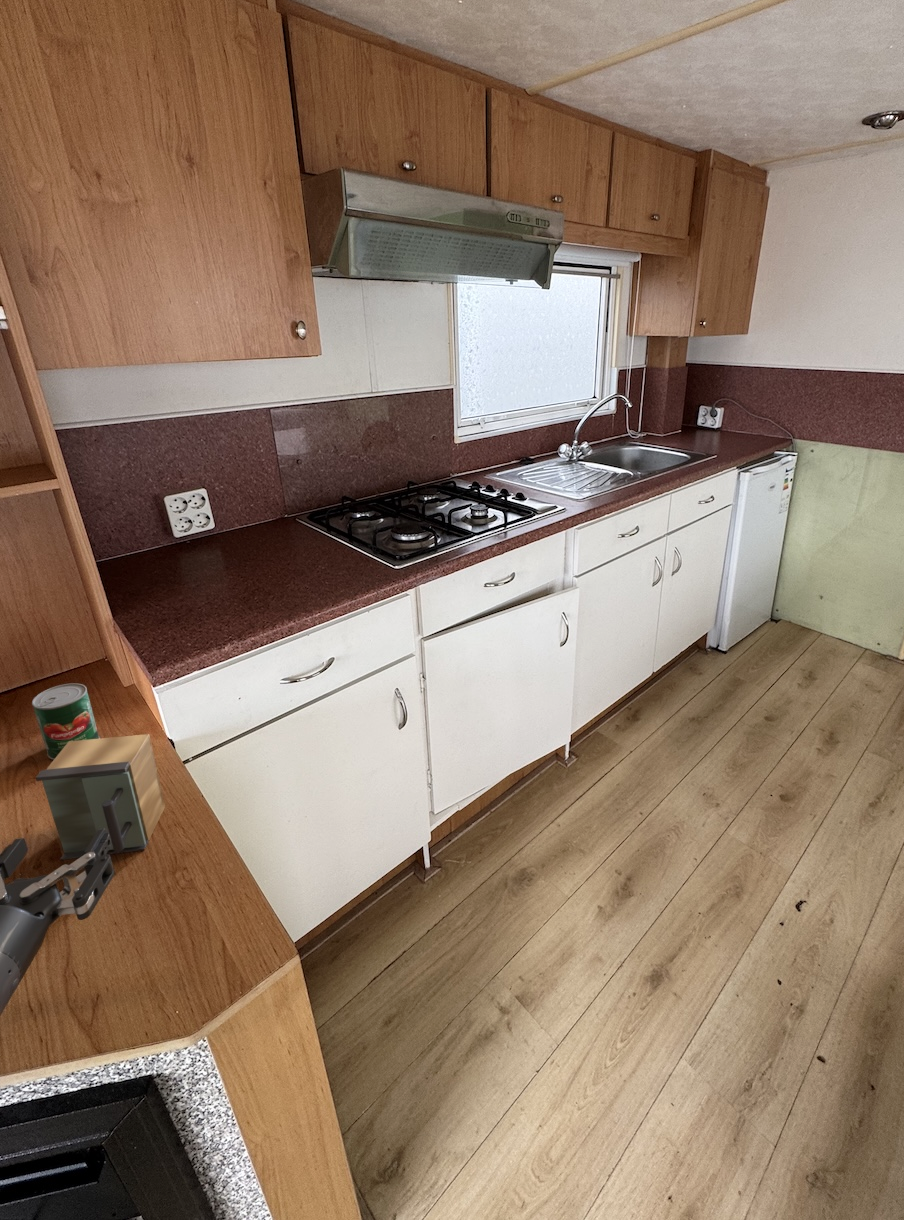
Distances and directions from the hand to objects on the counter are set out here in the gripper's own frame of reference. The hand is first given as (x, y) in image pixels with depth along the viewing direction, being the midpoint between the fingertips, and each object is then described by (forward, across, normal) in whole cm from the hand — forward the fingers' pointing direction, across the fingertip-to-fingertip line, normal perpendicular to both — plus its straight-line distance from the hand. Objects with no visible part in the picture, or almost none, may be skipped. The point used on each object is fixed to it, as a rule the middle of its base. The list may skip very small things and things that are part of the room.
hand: (63, 839), depth 67 cm
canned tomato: (+40, +20, +15) cm, 48 cm away
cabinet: (+18, +4, +16) cm, 24 cm away
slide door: (+12, +2, +15) cm, 19 cm away
